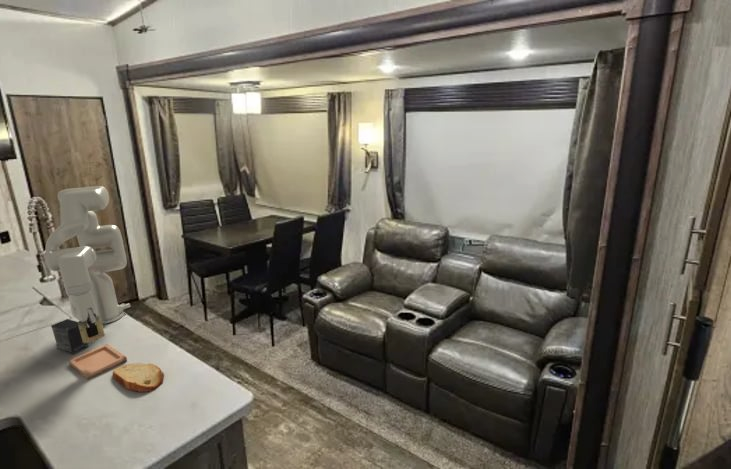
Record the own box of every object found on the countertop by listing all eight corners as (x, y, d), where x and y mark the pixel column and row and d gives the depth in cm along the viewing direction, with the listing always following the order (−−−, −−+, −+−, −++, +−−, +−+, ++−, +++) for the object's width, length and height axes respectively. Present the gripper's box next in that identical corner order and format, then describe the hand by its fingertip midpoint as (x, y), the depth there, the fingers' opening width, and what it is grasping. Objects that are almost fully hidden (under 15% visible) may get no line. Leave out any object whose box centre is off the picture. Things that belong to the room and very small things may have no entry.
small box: (90, 346, 158) (83, 322, 155) (72, 354, 152) (66, 330, 149) (74, 340, 162) (67, 317, 159) (56, 349, 156) (49, 325, 153)
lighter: (102, 333, 147) (96, 308, 145) (107, 336, 145) (101, 311, 142) (81, 341, 142) (74, 316, 139) (85, 344, 140) (78, 319, 137)
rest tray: (107, 347, 156) (106, 343, 155) (127, 360, 147) (126, 356, 146) (69, 364, 146) (68, 360, 145) (87, 379, 137) (86, 375, 136)
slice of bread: (115, 370, 142) (112, 361, 141) (169, 360, 147) (167, 351, 146) (99, 403, 125) (96, 393, 124) (161, 390, 130) (159, 381, 129)
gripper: (57, 286, 139) (70, 332, 144) (76, 296, 130) (89, 345, 135) (81, 279, 145) (92, 324, 150) (101, 288, 136) (112, 336, 141)
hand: (90, 333), depth 143 cm, fingers closed on lighter, 3 cm apart
